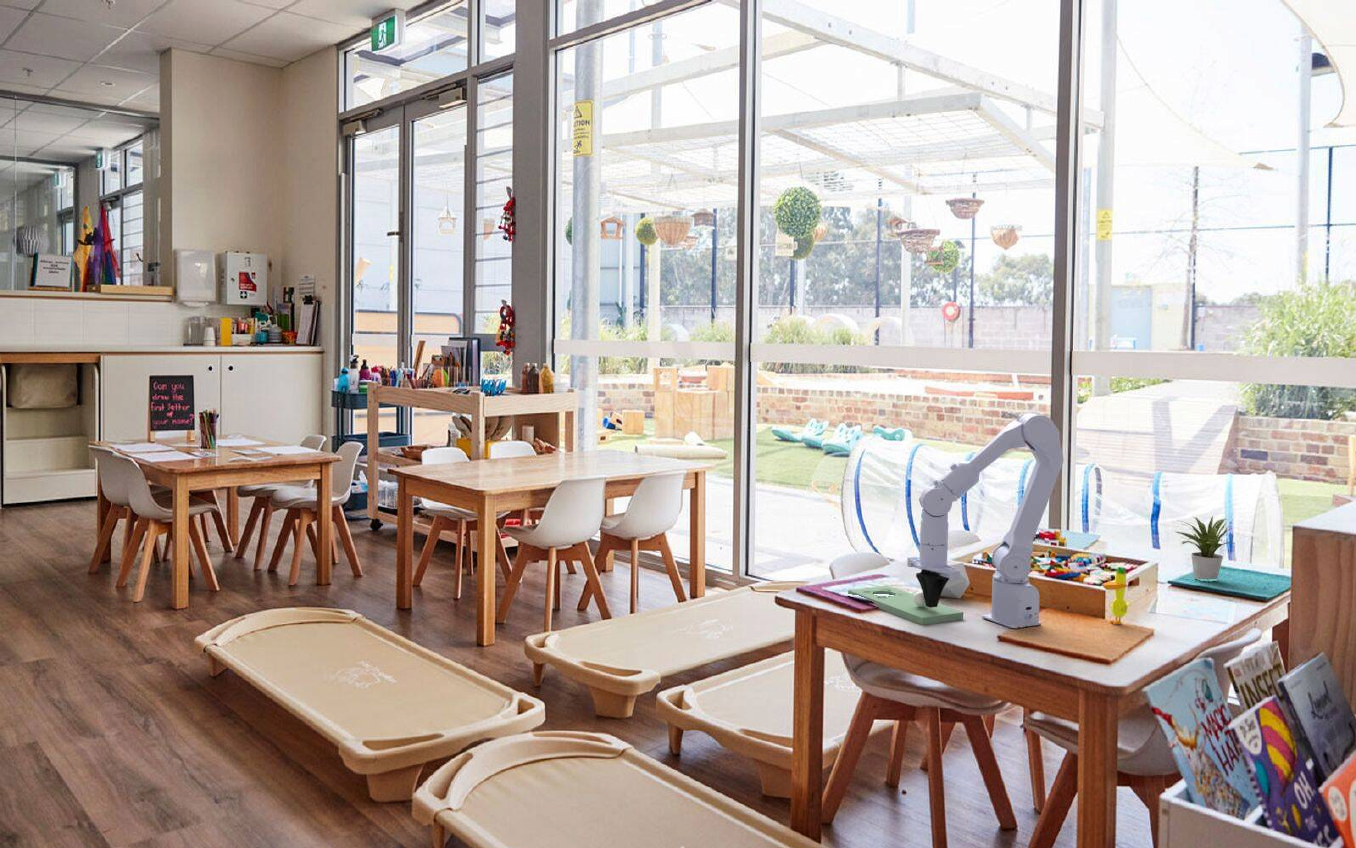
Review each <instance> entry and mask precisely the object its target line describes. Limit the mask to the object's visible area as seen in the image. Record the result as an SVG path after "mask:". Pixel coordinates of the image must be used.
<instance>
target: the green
mask: <svg viewBox="0 0 1356 848" xmlns="http://www.w3.org/2000/svg"><path fill="white" fill-rule="evenodd" d="M848 594H852V595H859V596H861V597H864V598H866V599H868V600H869V601H872V602H874V603H875V604H876V605H877V606H878V607H879V608H878V609H880V610H882V611H884V612H888V613H889V614H893V615H895V616H898V617H900V618H903V619H905V620H908V621H910V622H913V623H916V624H919V625H921V626H924V625H930V624H938V623H939V624H940V623H946V622H953V621H959V620H964V611H961V610H958V609H955V608H953V607H950V606H947V605H944V604H942V603H939V602H938V606H937V607H932V608H929V607H918V606H917V605H915V603H914V601H913V597H914V595H915V594H913V593H909V592H906V591H903V590H901V589H898V588H895V587H892V586H890V585H879V586H871V587H863V588H862V587H861V588H855V589H854V588H853V589H848V591H847V595H848ZM874 594H889V595H894V596H888V597H886V596H877V595H874Z"/></svg>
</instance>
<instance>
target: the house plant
mask: <svg viewBox="0 0 1356 848" xmlns="http://www.w3.org/2000/svg"><path fill="white" fill-rule="evenodd" d="M1192 518H1194V520H1195V521H1196V522H1197V525H1198V528H1197V527H1196V526H1194V525H1192V524H1190V523H1188V522H1185V521H1182V520H1179V519H1178V520H1177V521H1178V522H1181V523H1183V524H1182V525H1183V526H1186V525H1188V526H1189V527H1191V529H1192V532H1193V534H1191V533H1187V532H1183V531H1176V533H1177V534H1179V535H1183V536H1185V537H1186V538H1188V539H1187V540H1184V541H1181V542H1179V544H1180V546H1182V545H1184V544H1189V543H1190V544H1191V545H1194V546H1195V547H1197V548H1198V551H1199V552H1198V551H1196V552H1192V553H1191V554H1190V555H1191V564H1192V570H1193V571H1192V572H1193V579H1194V578H1198V579H1207V580H1208V579H1217V578H1218V579H1219V575H1220V570H1221V567H1222V562H1223V558H1224V556H1223V555H1221V554H1218V553H1216V551H1217V550H1218V549H1220V547H1222V546H1223V545H1226V544H1235V545H1236V543H1234V542H1232V541H1231V542H1224V543H1220V541H1221V542H1223V539H1221V538H1222V537H1223V536H1224V535H1225V534H1226V533H1227V532H1228V531H1230V530H1231V528H1229V527H1230V525H1228V526H1227V527H1226V525H1227V521H1226V522H1225V520H1227V518H1222V519H1218V520H1216V522H1215V523H1214V524H1213V522H1214V518H1213V515H1212V516H1211V518H1210V520H1209V523H1208V525H1207V527H1206V525H1205V523H1204V522H1202V521H1201V520H1200V519H1198V517H1194V516H1192ZM1184 523H1185V524H1184ZM1225 527H1226V528H1225ZM1224 528H1225V529H1224ZM1223 530H1224V531H1223ZM1222 531H1223V532H1222ZM1221 532H1222V533H1221ZM1196 534H1197V535H1196ZM1183 536H1181V538H1183V539H1184V537H1183ZM1191 540H1193V541H1191ZM1194 541H1195V542H1194ZM1218 579H1217V580H1218Z"/></svg>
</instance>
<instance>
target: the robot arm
mask: <svg viewBox="0 0 1356 848" xmlns="http://www.w3.org/2000/svg"><path fill="white" fill-rule="evenodd" d="M1060 433H1061V432H1060V430H1059V429H1058V427H1057V426H1056V425H1055V423H1054V421H1053V420H1052V419H1051V418H1050V417H1048V416H1046V415H1042V414H1039V413H1037V412H1034V411H1027V412H1023V413H1021V414H1020V415H1019V416H1018V417H1017V419H1016V420H1013V421H1011V422H1009V423H1008V424H1007V425H1006V426H1004V428H1002V429H1001V430H999V432H998V434H996V435H995V436H993V438H992V439H991V440H990V441H989V442H988V443H986V445H985V446H984V447H982V448H981V449H980V450H979V451H978V452H977V453H976V454H975V455H974V456H973V457H971V459H970V460H968V461H967V460H961V461H958V462H957V463H955V462H952V463H951V464H950V465H949V468H950V469H949V470H948V471H947V472H946V473H944V474H943V475H942V476H941V477H940V478H939V479H934V480H933V481H932V484H933V485H931V486H928V487H925V488H924V489H923V490H922V491H921V494H920V496H919V498H918V501H919V503H920V504H919V506H920V507H922V509H921V515H920V516H921V520H920V534H919V535H920V536H919V557H916V556H911V557H907V559H906V560H907V561H906V562H907V565H906V567H908V568H915V569H919V570H921V571H920V572H916V573H915V577H916V579H917V581H918V583H919V585H920V587H921V591H923V595H924V599H925V604H926V607H929V608H932V607H937V606H938V603H939V602H940V599H941V593H942V591H943V588H944V586H945V585H946V583H947V582H948V580H949V579H950V580H960V570H957V569H955V568H953V567H951V566H950V565H948V564H947V562H948V549H949V547H948V546H949V545H948V544H949V543H948V541H949V513H950V511H951V509H952V507H953V503H955V502H957V501H958V500H959V499H960V498H962V497H963V496H964V495H965V494H966V493H967V492H969V490H971V489H972V488H973V487H974V486H975V485H976V484H978V483H979V481H980V473H981V472H982V471H984V470H985V469H986V468H988V466H990V465H991V464H993V463H994V462H995V461H996V460H997V459H999V458H1000V457H1001V456H1003V455H1004V454H1005V453H1007V452H1008V451H1009V450H1010V449H1017V448H1018V449H1019V448H1023V447H1024V448H1026V447H1027V446H1028V448H1029V450H1030V452H1031V454H1032V455H1033V457H1034V459H1035V460H1036V461H1035V463H1034V467H1033V468H1032V471H1031V474H1030V476H1029V479H1028V482H1027V484H1026V487H1025V490H1024V492H1023V495H1022V497H1021V499H1020V502H1019V505H1018V508H1017V510H1016V512H1015V513H1016V514H1015V515H1014V518H1013V521H1012V523H1011V526H1010V529H1009V530H1008V532H1006V534H1005V535H1004V536H1003V538H1002V541H1001V543H1000V544H999V545H998V546H997V547H996V548H994V550H993V552H992V554H991V561H992V565H993V566H994V568H995V569H996V570H995V572H994V574H992V583H991V584H992V586H991V591H992V592H991V607H990V608H991V613H990V614H983V615H982V616H981V617H982V618H983V619H986V620H987V621H991V622H994V623H996V624H999V625H1002V626H1006V627H1008V628H1011V629H1018V628H1017V627H1020V628H1026V626H1027V627H1032V626H1038V625H1042V622H1041V621H1040V619H1039V617H1040V601H1041V600H1040V598H1041V597H1040V593H1039V592H1040V591H1039V590H1038V588H1037V587H1036V586H1034V585H1032V584H1031V583H1030V581H1029V575H1030V573H1031V570H1032V563H1031V558H1032V555H1033V552H1034V539H1035V537H1036V536H1035V535H1036V533H1037V531H1038V528H1039V526H1040V523H1041V521H1042V518H1043V516H1044V513H1045V511H1046V508H1047V505H1048V503H1049V500H1050V497H1051V496H1052V492H1053V489H1054V487H1055V485H1056V482H1057V479H1058V477H1059V475H1060V472H1061V469H1062V466H1063V463H1064V455H1063V454H1064V453H1063V450H1062V445H1061V438H1060ZM1021 626H1022V627H1021Z"/></svg>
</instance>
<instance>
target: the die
mask: <svg viewBox="0 0 1356 848" xmlns="http://www.w3.org/2000/svg"><path fill="white" fill-rule="evenodd" d="M947 564H948V565H950V566H951V567H953V568H955V569H957V570H960V580H950V579H949V580H948V582H947V583H946V585H945V586H944V588H943V591H942V593H941V596H940V598H942V597H943V598H952V599H961V597H963V594H964V593H965V592H966V590H967V589H968V587H969V585H970V584H971V583H970V579H969V577H968V574H967V570H966V567H965V565H964V563H963V562H958V561H957V562H956V561H947Z"/></svg>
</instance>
